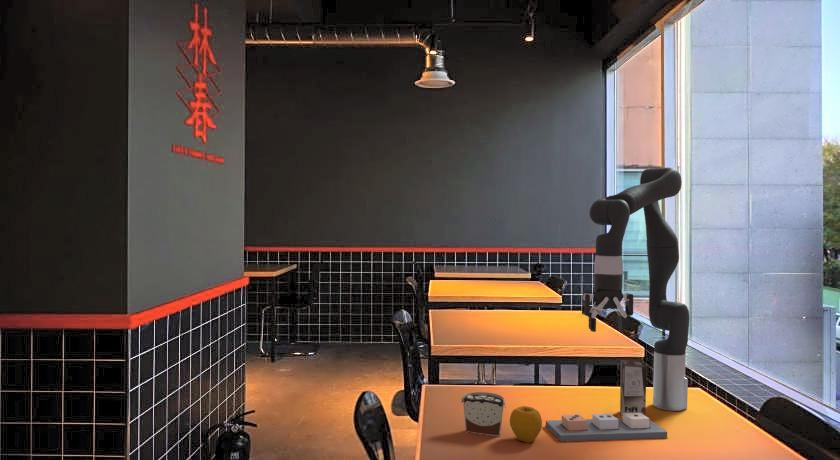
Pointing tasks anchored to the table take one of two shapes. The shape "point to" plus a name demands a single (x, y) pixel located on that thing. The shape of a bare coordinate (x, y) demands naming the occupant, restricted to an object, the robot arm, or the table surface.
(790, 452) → the table surface
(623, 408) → the coffee box
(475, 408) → the food container
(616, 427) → the tile two
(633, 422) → the tile one
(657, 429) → the button board
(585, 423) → the tile three
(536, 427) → the apple
